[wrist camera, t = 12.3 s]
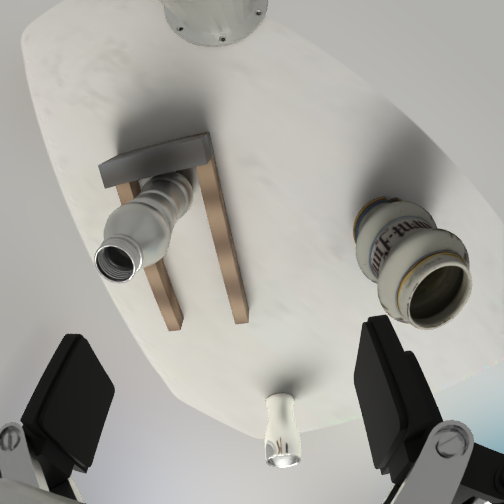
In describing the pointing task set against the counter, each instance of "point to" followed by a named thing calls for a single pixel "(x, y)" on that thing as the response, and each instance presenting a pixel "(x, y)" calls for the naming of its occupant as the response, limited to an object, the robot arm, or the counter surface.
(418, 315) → the apothecary jar
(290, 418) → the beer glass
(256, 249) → the counter surface
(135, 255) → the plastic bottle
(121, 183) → the guide track
